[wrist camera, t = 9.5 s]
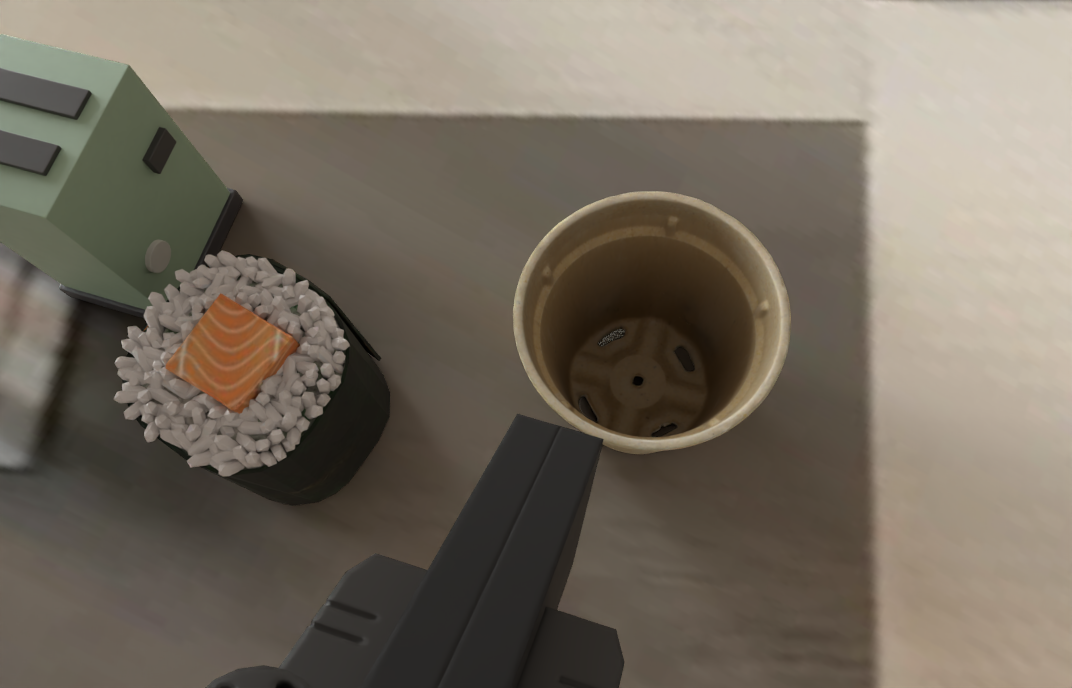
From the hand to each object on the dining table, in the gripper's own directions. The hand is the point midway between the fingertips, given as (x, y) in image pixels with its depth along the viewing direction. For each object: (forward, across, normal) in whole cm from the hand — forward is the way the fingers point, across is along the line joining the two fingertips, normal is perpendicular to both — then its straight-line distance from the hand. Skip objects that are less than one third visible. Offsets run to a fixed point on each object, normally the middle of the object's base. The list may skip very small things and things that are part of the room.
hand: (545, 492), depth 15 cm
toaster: (+22, -23, -9) cm, 33 cm away
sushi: (+18, -14, -13) cm, 26 cm away
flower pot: (+22, 0, -9) cm, 23 cm away
